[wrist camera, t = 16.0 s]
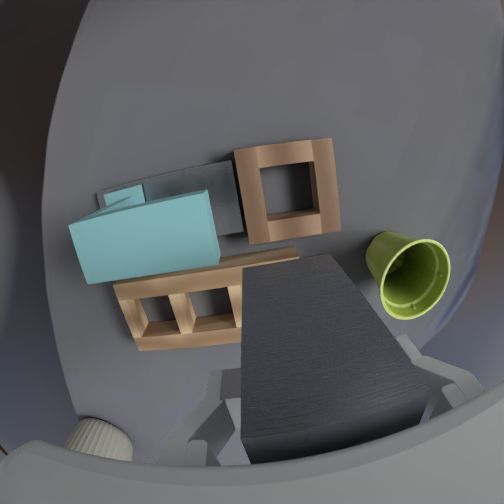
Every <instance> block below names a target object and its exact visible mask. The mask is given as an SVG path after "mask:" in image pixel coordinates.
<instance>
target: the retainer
mask: <svg viewBox="0 0 504 504" xmlns="http://www.w3.org/2000/svg"><path fill="white" fill-rule="evenodd" d="M104 197H105V202H106V207H104V208H102V209H100V210H97V211H95V212H93V213H91V214H89V215H87V216H85V217H83V218H81V219H79V220H77V221H76V222H74V223H72V224H70V225H68V226H69V229H70V233H71V236H72V240H73V243H74V246H75V249H76V252H77V256H78V259H79V262H80V264H81V267H82V270H83V273H84V276H85V279H86V281H87V284H94V283H100V282H107V281H114V280H121V279H127V278H134V277H141V276H147V275H154V274H161V273H167V272H174V271H180V270H187V269H193V268H200V267H206V266H213V265H218V264H219V259H220V255H221V254H220V249H219V245H218V240H217V235H216V230H215V225H214V220H213V215H212V210H211V205H210V200H209V195H208V190H207V189H206V190H200V191H195V192H190V193H185V194H180V195H176V196H171V197H166V198H162V199H157V200H153V201H148V202H145V199H144V194H143V190H142V185H141V184H140V185H136V186H133V187H129V188H125V189H121V190H118V191H114V192H110V193H107V194H105V195H104Z"/></svg>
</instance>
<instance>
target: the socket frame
mask: <svg viewBox="0 0 504 504" xmlns="http://www.w3.org/2000/svg"><path fill="white" fill-rule="evenodd" d="M234 156H235V161H236V167H237V173H238V179H239V185H240V190H241V196H242V202H243V208H244V214H245V220H246V225H247V231H248V237H249V243H250V245H253V244H259V243H266V242H272V241H278V240H285V239H291V238H297V237H304V236H310V235H317V234H323V233H330V232H336V231H341V223H340V210H339V198H338V188H337V178H336V169H335V161H334V153H333V145H332V138H325V139H314V140H304V141H295V142H286V143H279V144H271V145H264V146H257V147H251V148H244V149H238V150H234ZM300 162H308V166H309V174H310V182H311V190H312V198H313V207H314V208H311V209H304V210H297V211H290V212H284V213H277V214H271V215H266V208H265V202H264V195H263V189H262V183H261V176H260V170H259V168H264V167H270V166H277V165H285V164H292V163H300ZM140 184H141V185H142V190H143V194H144V199H145V202H148V201H153V200H157V199H162V198H166V197H171V196H176V195H180V194H185V193H190V192H195V191H200V190H206V189H207V190H208V195H209V200H210V205H211V210H212V215H213V220H214V225H215V230H216V235H217V236H220V235H226V234H232V233H238V232H244V228H243V222H242V216H241V211H240V205H239V199H238V194H237V188H236V182H235V176H234V171H233V165H232V160H229V161H223V162H218V163H213V164H207V165H202V166H197V167H193V168H188V169H183V170H179V171H174V172H170V173H166V174H161V175H157V176H153V177H149V178H145V179H141V180H137V181H133V182H130V183H126V184H122V185H119V186H115V187H112V188H108V189H105V190H102V191H98V192H96V193H97V198H98V202H99V206H100V209H102V208H104V207H106V202H105V197H104V195H105V194H107V193H110V192H114V191H118V190H121V189H125V188H129V187H133V186H136V185H140Z"/></svg>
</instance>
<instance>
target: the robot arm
mask: <svg viewBox="0 0 504 504" xmlns="http://www.w3.org/2000/svg"><path fill="white" fill-rule="evenodd" d="M394 338H395V339H396V341H397V342H398V344H399V345H400V346H401V348H402V349H403V351H404V352H405V354H406V355H407V356H408V358H409V359H410V361H411V362H412V364H413V365H414V367H415V368H416V370H417V371H418V373H419V374H420V376H421V377H422V379H423V380H424V382H425V383H426V385H427V386H428V388H429V389H430V391H431V392H432V393H431V395H430V398H429V401H428V403H427V406H426V408H425V412H427V413H429V414H430V415H431V417H430V419H429V420H427V421H425V422H423V423H420V424H418V425H415V426H413V427H410V428H408V429H405V430H403V431H400V432H397V433H394V434H392V435H389V436H386V437H383V438H380V439H377V440H373V441H370V442H367V443H364V444H360V445H357V446H353V447H349V448H345V449H341V450H337V451H333V452H329V453H324V454H319V455H314V456H309V457H304V458H298V459H291V460H285V461H277V462H269V463H260V464H249V465H233V466H221V465H220V463H219V462H218V460H217V458H216V457H217V456H218V454H219V453H220V451H221V450H222V449H223V447H224V446H225V444H226V443H227V442H228V440H229V439H230V437H231V436H232V434H233V433H234V431H235V429H238V428H241V368H235V369H224V370H215V371H210V373H209V376H208V383H207V390H206V397H205V401H201V402H200V403H199V404H198V405H197V406H196V407H195V408H194V409H193V410H192V411H191V412H190V413H189V414H188V415H187V416H186V417H185V418H184V419H183V420H182V421H181V422H180V423H179V424H178V425H177V426H176V427H175V428H174V429H173V430H172V431H171V432H169V433H168V434H167V435H166V436H165V437H164V438H163V441H162V445H161V449H160V454H159V458H158V463H157V464H149V463H140V462H132V461H124V460H118V459H112V458H106V457H101V456H96V455H91V454H87V453H82V452H78V451H74V450H70V449H66V448H63V447H59V446H56V445H53V444H49V443H46V442H44V441H40V440H33V441H31V442H29V443H27V444H25V445H23V446H21V447H19V448H18V449H16V450H14V451H13V452H11V453H9V454H8V455H7V456H6V457H5V458H4V460H3V461H2V463H1V464H0V504H504V380H502V381H500V382H499V383H497V384H496V385H494V386H492V387H491V388H489V389H488V390H485V389H484V388H483V387H482V385H481V384H480V383H479V382H478V380H477V379H476V378H475V377H474V375H473V374H472V373H471V372H468V371H465V370H463V369H460V368H457V367H454V366H452V365H449V364H446V363H444V362H441V361H438V360H436V359H433V358H431V357H428V356H422V355H421V354H420V352H419V351H418V350H417V349H416V347H415V346H414V345H413V343H412V342H411V341H410V340H409V338H408V337H407V336H406V335H405V334H400V335H397V336H394Z"/></svg>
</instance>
